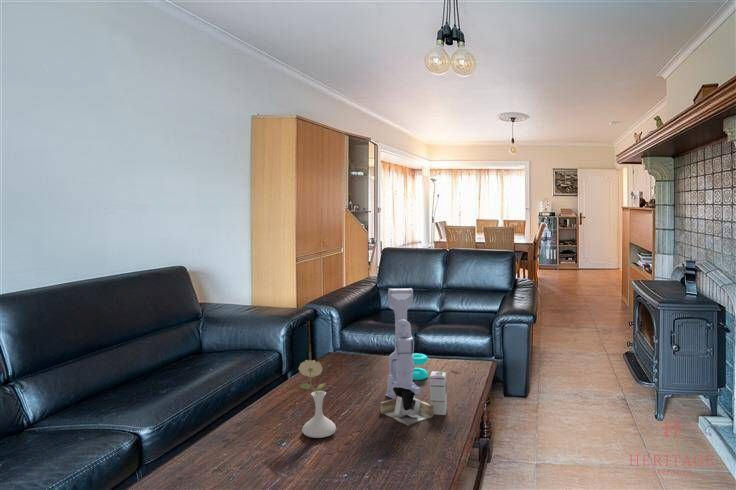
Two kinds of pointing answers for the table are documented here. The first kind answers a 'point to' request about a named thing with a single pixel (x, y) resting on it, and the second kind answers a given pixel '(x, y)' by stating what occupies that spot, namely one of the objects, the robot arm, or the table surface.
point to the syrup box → (438, 392)
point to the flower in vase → (316, 404)
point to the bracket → (412, 411)
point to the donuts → (419, 372)
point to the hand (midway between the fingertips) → (404, 408)
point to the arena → (423, 414)
